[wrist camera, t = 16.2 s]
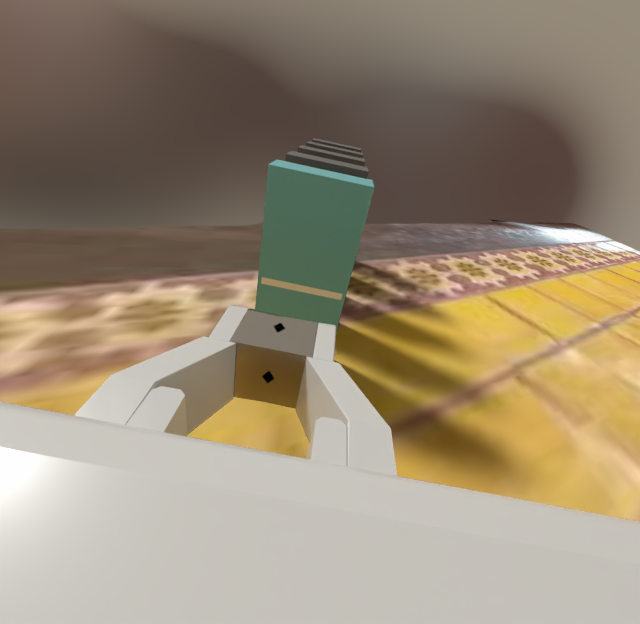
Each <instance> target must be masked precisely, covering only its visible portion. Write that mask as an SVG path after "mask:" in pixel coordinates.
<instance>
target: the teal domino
mask: <svg viewBox="0 0 640 624" xmlns="http://www.w3.org/2000/svg"><path fill="white" fill-rule="evenodd" d="M373 190H374V185H373V182H372V180H369V179H365V178H360V177H355V176H351V175H346V174H341V173H337V172H332V171H328V170H323V169H318V168H314V167H309V166H305V165H300V164H295V163H291V162H286V161H281V160H276V161H274V162H272V163H270V164H269V165H268V176H267V187H266V199H265V208H264V220H263V230H262V241H261V252H260V263H259V274H258V285H257V296H256V307H255V310H259V311H263V312H268V313H272V314H277V315H281V316H284V317H289V318H295V319H300V320H306V321H312V322H317V323H318V322H319V323H325V324H331V325H335V326H336V331H337V327H338V323H339V320H340V316H341V312H342V308H343V304H344V301H345V297H346V293H347V289H348V285H349V282H350V278H351V274H352V270H353V266H354V263H355V259H356V255H357V251H358V247H359V244H360V240H361V236H362V232H363V228H364V225H365V220H366V217H367V213H368V209H369V206H370V202H371V198H372V194H373Z"/></svg>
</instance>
